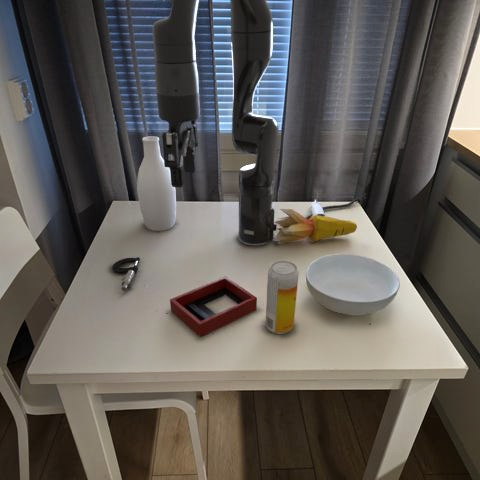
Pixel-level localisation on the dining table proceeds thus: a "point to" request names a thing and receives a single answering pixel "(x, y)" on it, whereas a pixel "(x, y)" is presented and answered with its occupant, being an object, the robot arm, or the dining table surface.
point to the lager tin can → (281, 296)
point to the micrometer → (126, 271)
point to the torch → (310, 227)
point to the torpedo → (317, 208)
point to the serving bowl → (351, 283)
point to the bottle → (155, 188)
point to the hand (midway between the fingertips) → (184, 178)
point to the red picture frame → (204, 319)
